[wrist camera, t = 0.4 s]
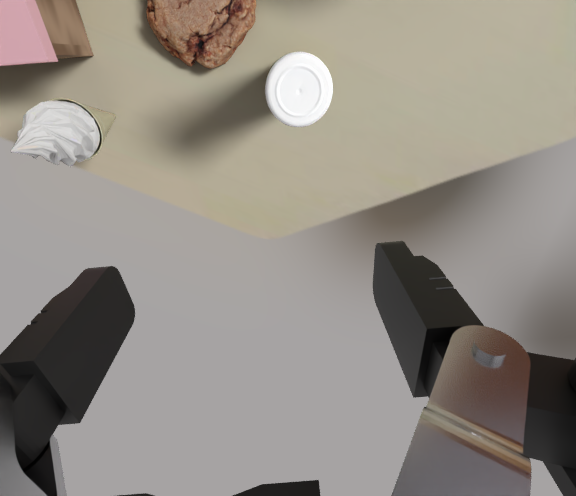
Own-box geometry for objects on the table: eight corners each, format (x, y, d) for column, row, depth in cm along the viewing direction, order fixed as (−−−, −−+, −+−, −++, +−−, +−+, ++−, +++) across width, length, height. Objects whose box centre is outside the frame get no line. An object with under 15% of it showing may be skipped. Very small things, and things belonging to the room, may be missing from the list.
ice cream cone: (77, 102, 33) (-52, 130, 20) (117, 81, 32) (10, 94, 19) (109, 148, 35) (12, 199, 22) (147, 129, 34) (70, 170, 22)
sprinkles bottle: (321, 87, 33) (346, 101, 21) (285, 114, 34) (290, 141, 23) (296, 44, 31) (309, 33, 19) (259, 74, 32) (250, 82, 21)
